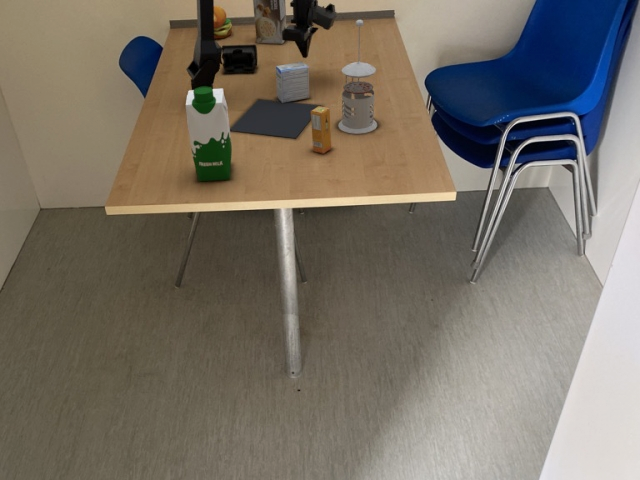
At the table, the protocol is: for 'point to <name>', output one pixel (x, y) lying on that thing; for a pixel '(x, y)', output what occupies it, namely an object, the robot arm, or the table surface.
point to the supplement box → (321, 129)
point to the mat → (275, 118)
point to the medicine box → (292, 82)
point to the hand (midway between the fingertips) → (305, 57)
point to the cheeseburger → (221, 23)
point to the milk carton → (209, 133)
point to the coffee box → (269, 20)
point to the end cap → (239, 59)
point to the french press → (358, 97)
